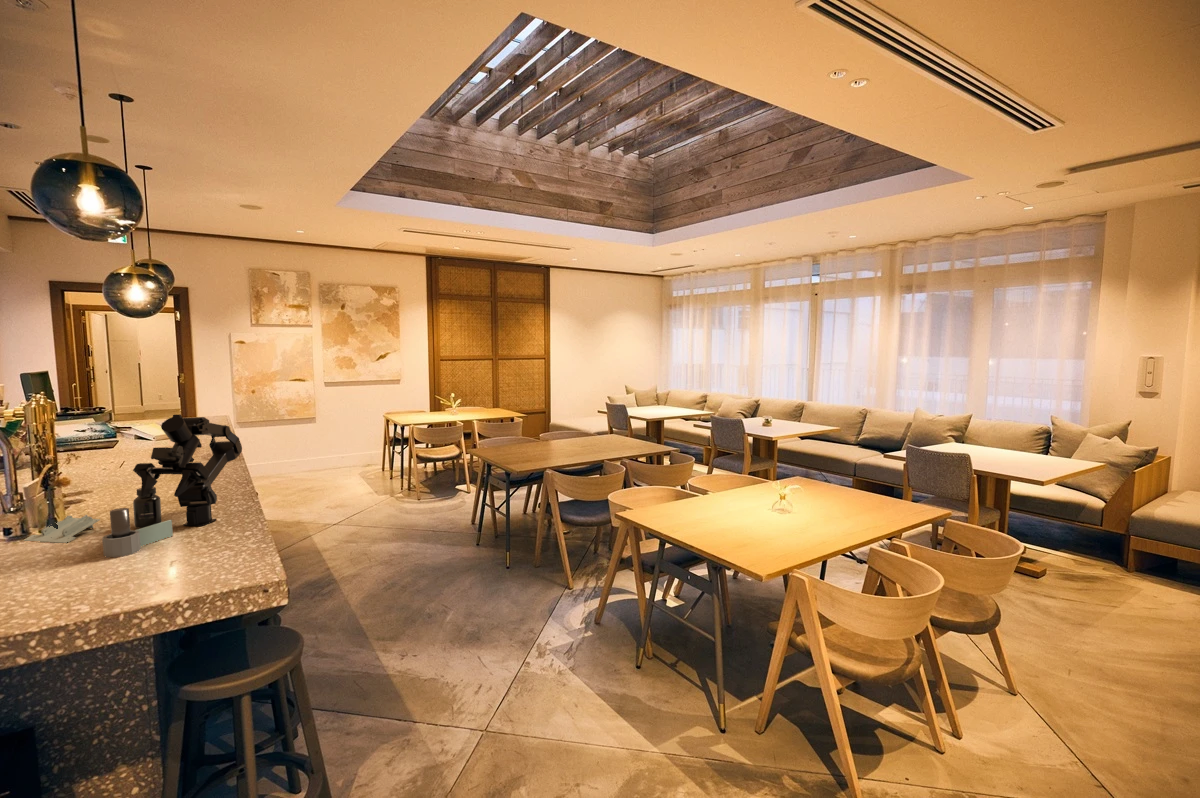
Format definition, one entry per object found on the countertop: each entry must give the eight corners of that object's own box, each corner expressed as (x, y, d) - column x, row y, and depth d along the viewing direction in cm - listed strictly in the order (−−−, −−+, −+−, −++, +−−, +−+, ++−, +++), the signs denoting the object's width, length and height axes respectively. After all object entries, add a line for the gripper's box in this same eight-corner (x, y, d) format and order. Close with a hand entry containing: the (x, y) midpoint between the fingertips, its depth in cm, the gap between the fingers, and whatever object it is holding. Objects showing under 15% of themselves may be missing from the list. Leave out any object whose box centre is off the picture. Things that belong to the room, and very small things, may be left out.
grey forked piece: (136, 535, 171) (134, 519, 170) (176, 536, 170) (175, 520, 169) (78, 556, 153) (76, 538, 153) (122, 557, 152) (121, 539, 152)
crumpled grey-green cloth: (65, 511, 177) (106, 513, 175) (73, 526, 180) (113, 528, 177) (15, 538, 164) (58, 540, 162) (24, 554, 166) (66, 557, 164)
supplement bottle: (144, 529, 176) (141, 491, 175) (129, 527, 178) (126, 490, 177) (167, 523, 182) (164, 486, 181) (152, 521, 185) (149, 485, 184)
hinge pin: (122, 549, 159) (119, 507, 157) (136, 550, 158) (132, 508, 157) (109, 554, 155) (105, 511, 153) (122, 555, 154) (119, 512, 153)
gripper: (135, 436, 167) (107, 482, 157) (200, 435, 167) (177, 481, 157) (156, 457, 175) (131, 502, 165) (218, 456, 176) (197, 501, 166)
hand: (159, 496), depth 163 cm, fingers open, 9 cm apart
